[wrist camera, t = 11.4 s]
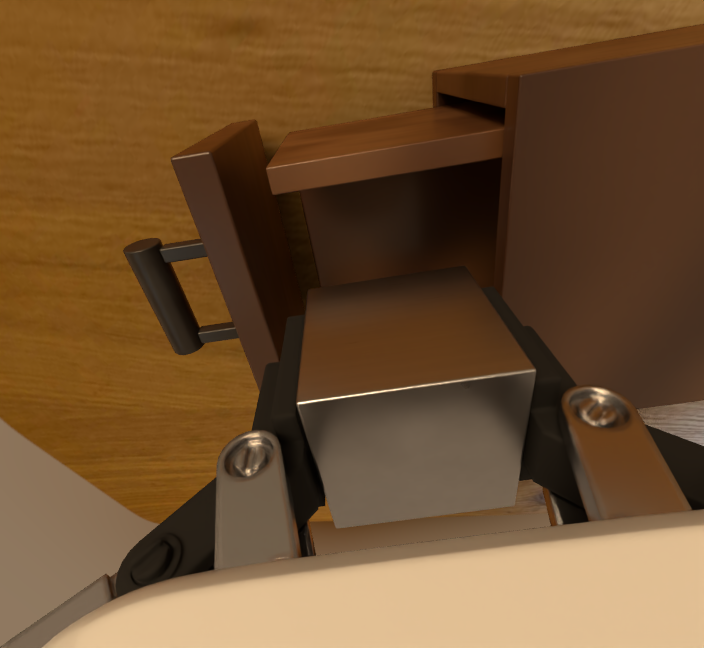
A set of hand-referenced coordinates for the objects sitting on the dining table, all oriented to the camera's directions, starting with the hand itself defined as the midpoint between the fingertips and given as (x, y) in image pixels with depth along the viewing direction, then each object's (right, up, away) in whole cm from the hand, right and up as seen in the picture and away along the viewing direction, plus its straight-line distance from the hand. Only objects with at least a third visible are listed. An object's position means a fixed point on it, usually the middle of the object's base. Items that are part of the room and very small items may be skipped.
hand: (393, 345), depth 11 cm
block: (0, 0, 0) cm, 0 cm away
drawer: (-1, +6, +9) cm, 10 cm away
